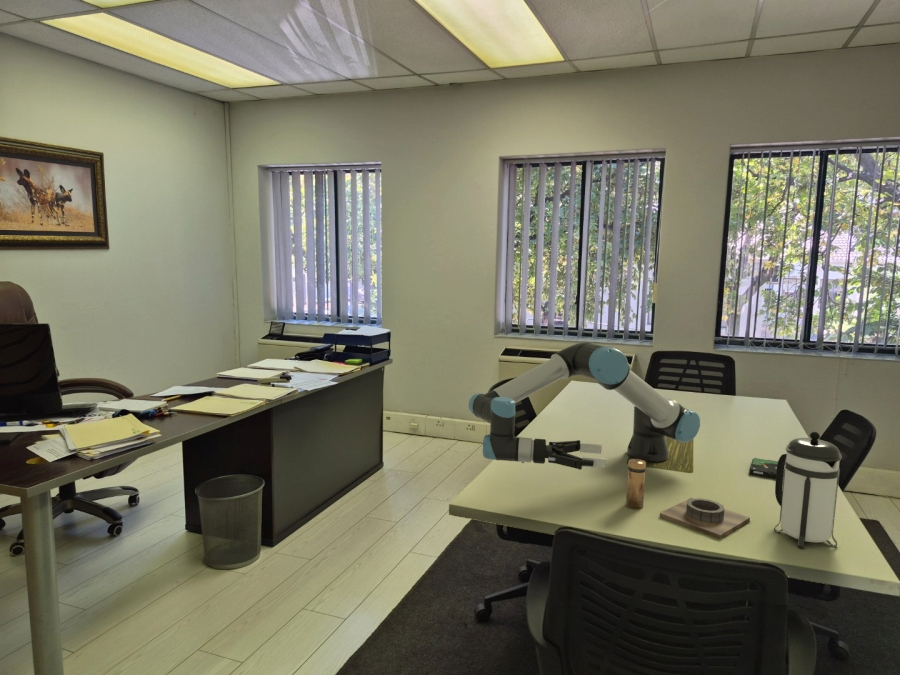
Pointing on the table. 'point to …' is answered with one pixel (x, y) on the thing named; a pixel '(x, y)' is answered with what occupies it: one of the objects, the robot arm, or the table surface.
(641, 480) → the copper tube
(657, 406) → the robot arm
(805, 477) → the coffee press
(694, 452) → the table surface
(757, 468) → the disk drive
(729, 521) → the collar plate
